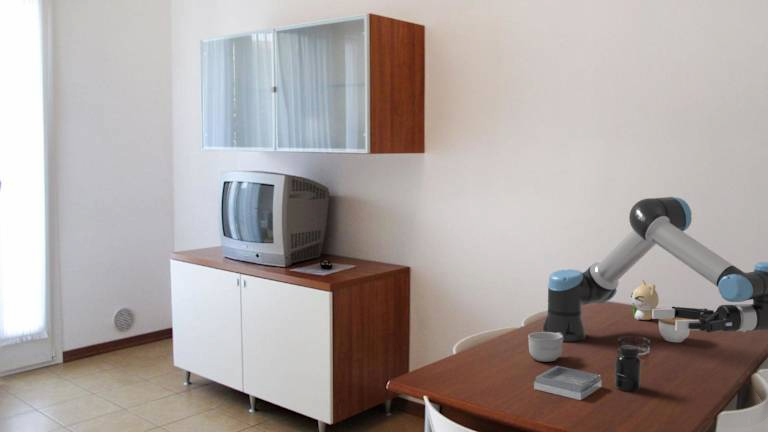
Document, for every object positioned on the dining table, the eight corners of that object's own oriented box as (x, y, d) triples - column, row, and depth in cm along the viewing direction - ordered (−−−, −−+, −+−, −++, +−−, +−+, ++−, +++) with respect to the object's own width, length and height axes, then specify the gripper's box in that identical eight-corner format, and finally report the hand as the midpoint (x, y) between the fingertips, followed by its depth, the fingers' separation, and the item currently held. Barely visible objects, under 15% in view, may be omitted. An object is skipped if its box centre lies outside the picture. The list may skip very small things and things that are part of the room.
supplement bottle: (613, 390, 205) (615, 348, 204) (615, 382, 212) (617, 342, 210) (639, 393, 203) (641, 351, 201) (640, 385, 209) (642, 345, 208)
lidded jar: (687, 346, 250) (688, 319, 249) (654, 341, 256) (655, 315, 255) (692, 338, 259) (693, 313, 258) (661, 334, 265) (662, 309, 264)
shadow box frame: (534, 388, 206) (534, 376, 205) (556, 376, 217) (556, 365, 216) (580, 400, 197) (581, 387, 197) (601, 386, 208) (601, 375, 207)
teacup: (542, 366, 226) (543, 341, 226) (520, 356, 236) (521, 332, 235) (576, 360, 233) (577, 335, 232) (553, 351, 242) (554, 327, 242)
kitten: (622, 314, 294) (624, 278, 292) (646, 314, 295) (648, 277, 293) (639, 324, 279) (641, 285, 277) (664, 323, 280) (666, 285, 278)
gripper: (761, 342, 196) (686, 344, 194) (710, 320, 221) (643, 321, 219) (762, 315, 195) (687, 316, 193) (711, 295, 220) (644, 297, 218)
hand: (663, 319), depth 206 cm, fingers open, 13 cm apart
